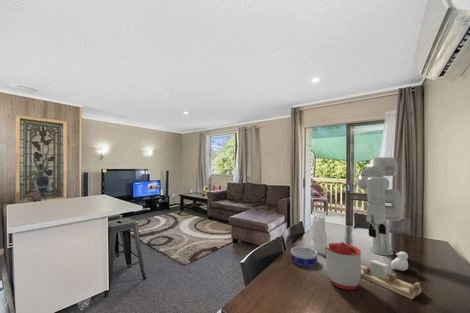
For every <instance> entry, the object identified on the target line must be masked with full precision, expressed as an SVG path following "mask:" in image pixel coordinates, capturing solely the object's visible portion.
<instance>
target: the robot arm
mask: <svg viewBox="0 0 470 313" xmlns="http://www.w3.org/2000/svg"><path fill="white" fill-rule="evenodd" d="M398 167H399V164H398V161H397V159H396V158H395V157H391V156H387V157H386V156H385V157H383V156H382V157H373V158H371V159H370V160H369V163H368V164H366V166H365V169H363V170H362V171H360V173H359V174H358V178H357V186H358V188H359V189H361V190H365V191H366V195H367V207H366V224H367V225H366V226H367V229H368V236H369V237H371V238H372V247H370V251H371V253H374V254H377V255H381V256H388V257H389V256H392V255H393V254H394V252H393V251H392V250H391V248H392V244H390V241H391V240H390V226H389V224H388V223H387V221H395V222H397V221H401V220H402V219H403V209H402V197H401V192H400V191H399V190H398V189H392V188H391V189H390V181H389V179H388V178H387V177H395V176H397V175H398V171H399V170H398V169H399V168H398ZM387 204H390V205H387Z"/></svg>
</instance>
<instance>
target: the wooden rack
mask: <svg viewBox="0 0 470 313" xmlns="http://www.w3.org/2000/svg"><path fill="white" fill-rule="evenodd" d="M361 278H362V279H364V280H366V281H368V282H371V283H373V284H375V285H378V286H380V287H382V288H384V289H388V290H390V291H391V292H394V293H397V294H398V295H400V296H404V297H406V298H408V299H410V300H413V299H414V298H416V297H417V296H419V295H420V294H422V287H421V283H420V282H418V281H416V282H414V283H413V284H412V283H409V282H407V281H404V280H402V279H399V278H397V274H396V273H395V272H393V273H391V274H390V273H389V276H387V277H385V280H384V279H382V278H379V277H377V276H374V275H372V274H371V273H370V265H369V266H365V265H362V264H361V277H360V279H361Z"/></svg>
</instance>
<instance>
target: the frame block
mask: <svg viewBox="0 0 470 313" xmlns="http://www.w3.org/2000/svg"><path fill="white" fill-rule="evenodd" d="M369 266H370V273H371V274H372V275H374V276H377V277H379V278H382V279H384V280H385V277H387V276H389V275H390V271H389V264H387V263H384V262H382V261H378V260H375V259H372V260H369Z"/></svg>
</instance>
